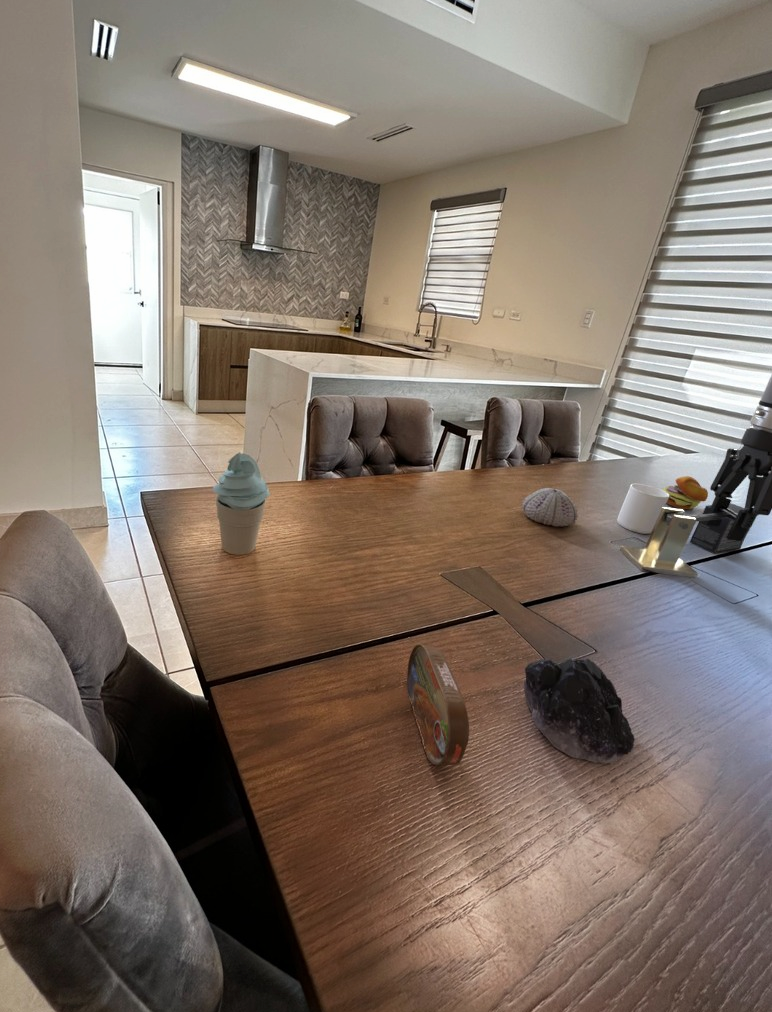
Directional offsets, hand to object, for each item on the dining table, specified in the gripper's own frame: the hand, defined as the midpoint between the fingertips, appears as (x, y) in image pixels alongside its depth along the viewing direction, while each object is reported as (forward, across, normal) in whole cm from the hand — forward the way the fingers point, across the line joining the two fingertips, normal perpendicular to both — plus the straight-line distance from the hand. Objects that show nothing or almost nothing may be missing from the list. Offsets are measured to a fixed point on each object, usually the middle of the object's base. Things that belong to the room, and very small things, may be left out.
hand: (722, 531), depth 102 cm
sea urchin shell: (+10, -18, -29) cm, 35 cm away
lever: (-1, 0, -5) cm, 5 cm away
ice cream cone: (+9, +17, -103) cm, 105 cm away
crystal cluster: (+9, +49, -51) cm, 71 cm away
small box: (+10, -14, +12) cm, 21 cm away
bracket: (+10, 0, -11) cm, 14 cm away
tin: (+9, +53, -70) cm, 88 cm away
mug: (+10, -21, -4) cm, 24 cm away
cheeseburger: (+10, -42, +20) cm, 48 cm away
